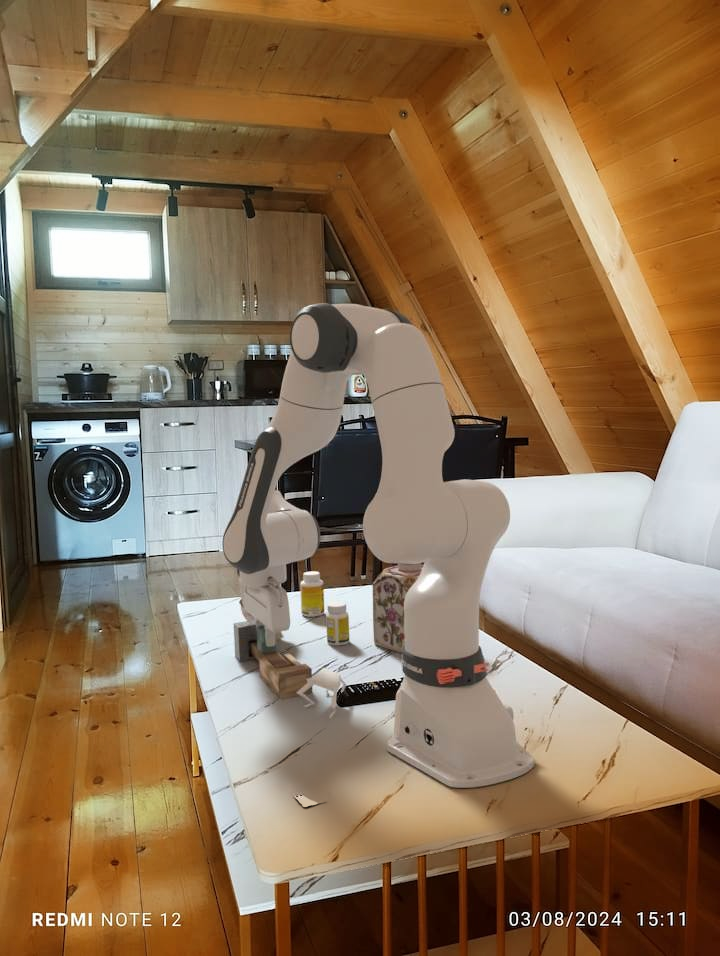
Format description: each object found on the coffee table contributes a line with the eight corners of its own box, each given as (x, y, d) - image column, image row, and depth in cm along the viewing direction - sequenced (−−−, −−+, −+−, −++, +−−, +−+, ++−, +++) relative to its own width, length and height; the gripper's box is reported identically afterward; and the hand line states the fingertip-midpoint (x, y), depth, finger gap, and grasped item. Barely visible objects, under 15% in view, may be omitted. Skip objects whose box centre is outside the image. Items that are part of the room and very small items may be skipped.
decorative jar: (372, 645, 164) (369, 561, 162) (411, 632, 171) (409, 552, 170) (412, 658, 155) (410, 569, 153) (452, 644, 163) (450, 559, 161)
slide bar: (291, 675, 144) (290, 639, 143) (276, 678, 142) (274, 642, 142) (265, 651, 158) (264, 618, 157) (251, 653, 157) (249, 620, 156)
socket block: (277, 655, 159) (276, 621, 158) (239, 661, 156) (238, 627, 155) (272, 650, 162) (271, 617, 161) (235, 656, 159) (233, 623, 158)
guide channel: (312, 692, 138) (311, 668, 138) (280, 699, 136) (279, 674, 135) (290, 671, 149) (289, 649, 149) (260, 677, 147) (259, 654, 146)
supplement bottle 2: (350, 639, 168) (349, 601, 167) (348, 646, 163) (346, 607, 163) (328, 639, 169) (327, 601, 168) (325, 646, 164) (324, 607, 163)
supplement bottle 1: (326, 616, 186) (324, 574, 185) (303, 618, 185) (301, 576, 184) (322, 610, 191) (320, 569, 190) (299, 612, 190) (298, 571, 189)
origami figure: (290, 701, 135) (289, 673, 135) (333, 691, 139) (332, 664, 138) (318, 725, 124) (317, 696, 124) (365, 714, 128) (364, 685, 128)
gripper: (297, 581, 142) (300, 654, 143) (263, 561, 161) (266, 626, 162) (263, 585, 139) (267, 660, 141) (233, 564, 158) (236, 631, 159)
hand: (266, 642), depth 152 cm, fingers closed on slide bar, 3 cm apart
